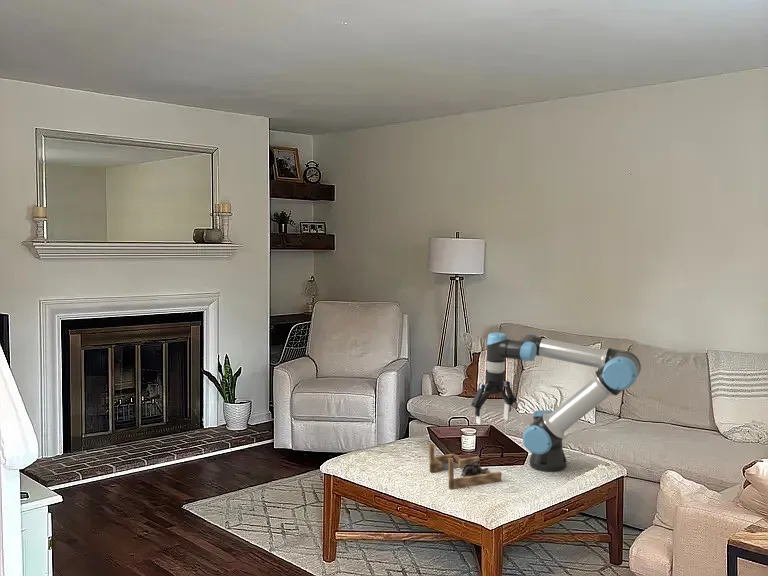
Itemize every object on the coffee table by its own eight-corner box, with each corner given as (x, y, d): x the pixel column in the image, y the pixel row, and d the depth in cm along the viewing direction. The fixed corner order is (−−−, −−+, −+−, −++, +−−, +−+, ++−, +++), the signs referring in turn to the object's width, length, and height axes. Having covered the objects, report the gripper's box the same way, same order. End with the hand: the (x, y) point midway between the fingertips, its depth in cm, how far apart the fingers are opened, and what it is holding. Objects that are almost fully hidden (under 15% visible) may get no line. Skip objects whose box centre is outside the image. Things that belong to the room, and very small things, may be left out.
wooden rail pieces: (470, 459, 332) (470, 431, 331) (501, 481, 306) (501, 451, 304) (422, 466, 325) (422, 438, 324) (450, 489, 298) (449, 459, 297)
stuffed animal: (458, 478, 307) (461, 453, 316) (461, 492, 314) (464, 468, 322) (488, 480, 305) (490, 455, 313) (490, 494, 311) (492, 469, 320)
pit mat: (452, 463, 328) (452, 462, 328) (458, 467, 322) (458, 467, 322) (436, 465, 326) (436, 464, 325) (442, 470, 319) (442, 469, 319)
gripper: (514, 366, 322) (511, 415, 325) (464, 371, 310) (461, 422, 313) (525, 370, 315) (522, 420, 318) (474, 375, 304) (472, 428, 307)
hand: (492, 421), depth 316 cm, fingers open, 13 cm apart
